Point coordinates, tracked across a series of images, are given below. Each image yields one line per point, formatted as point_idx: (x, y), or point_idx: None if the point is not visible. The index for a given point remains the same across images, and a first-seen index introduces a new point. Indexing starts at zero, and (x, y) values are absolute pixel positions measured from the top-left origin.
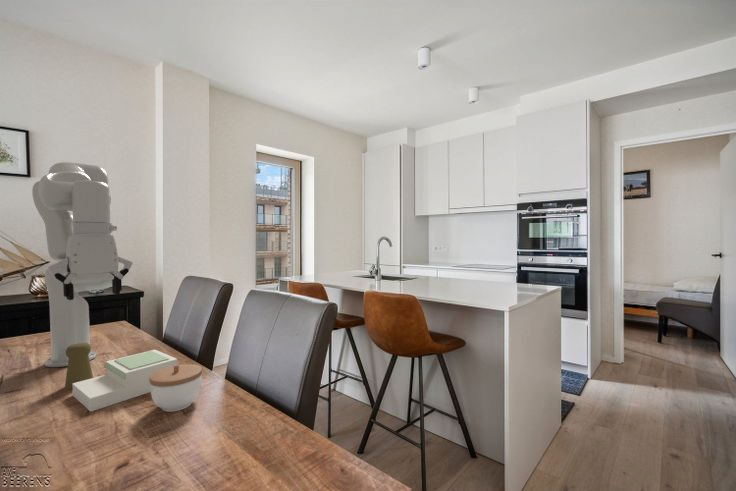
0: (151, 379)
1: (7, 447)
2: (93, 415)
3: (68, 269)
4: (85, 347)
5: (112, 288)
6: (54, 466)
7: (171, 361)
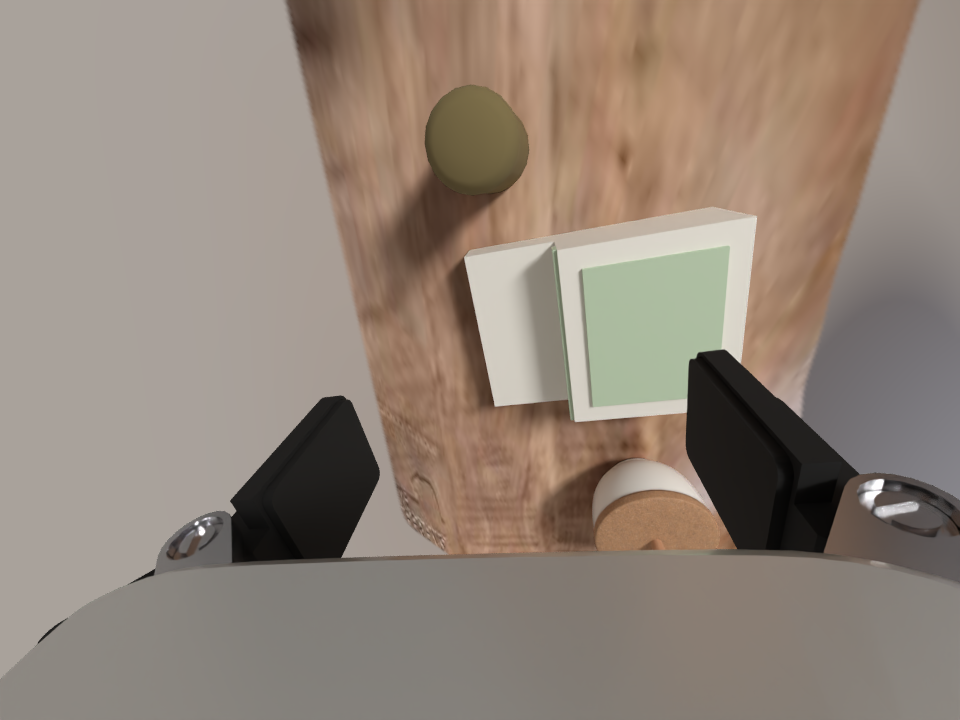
0: (597, 540)
1: (384, 432)
2: (500, 411)
3: (28, 657)
4: (495, 183)
5: (710, 386)
6: (447, 523)
7: None
